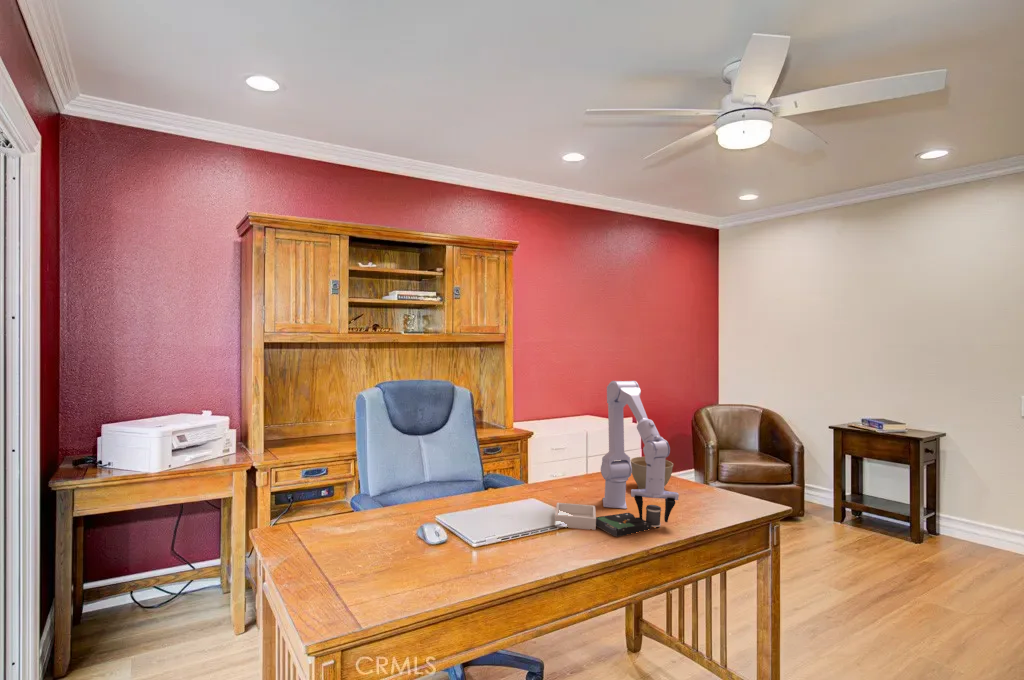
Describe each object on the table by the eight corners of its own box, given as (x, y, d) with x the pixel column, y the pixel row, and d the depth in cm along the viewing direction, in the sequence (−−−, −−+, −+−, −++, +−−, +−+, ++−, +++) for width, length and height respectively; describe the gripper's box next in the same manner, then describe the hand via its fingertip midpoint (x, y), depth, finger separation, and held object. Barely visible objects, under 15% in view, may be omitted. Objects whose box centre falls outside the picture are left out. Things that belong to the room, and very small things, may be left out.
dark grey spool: (644, 522, 181) (645, 504, 181) (659, 523, 181) (660, 505, 181) (646, 527, 177) (646, 508, 177) (661, 529, 176) (662, 510, 176)
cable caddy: (556, 512, 187) (556, 502, 187) (594, 516, 185) (595, 505, 185) (554, 526, 174) (555, 515, 174) (595, 530, 173) (596, 518, 173)
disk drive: (627, 520, 184) (593, 525, 176) (628, 512, 184) (594, 516, 176) (651, 532, 175) (616, 537, 167) (652, 523, 175) (617, 528, 167)
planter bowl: (621, 488, 218) (623, 461, 218) (641, 481, 230) (642, 454, 230) (660, 498, 208) (661, 469, 207) (678, 489, 220) (680, 462, 220)
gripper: (633, 479, 175) (631, 522, 176) (681, 482, 173) (679, 526, 174) (631, 473, 182) (629, 515, 183) (677, 477, 180) (675, 519, 181)
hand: (653, 520), depth 179 cm, fingers open, 7 cm apart
